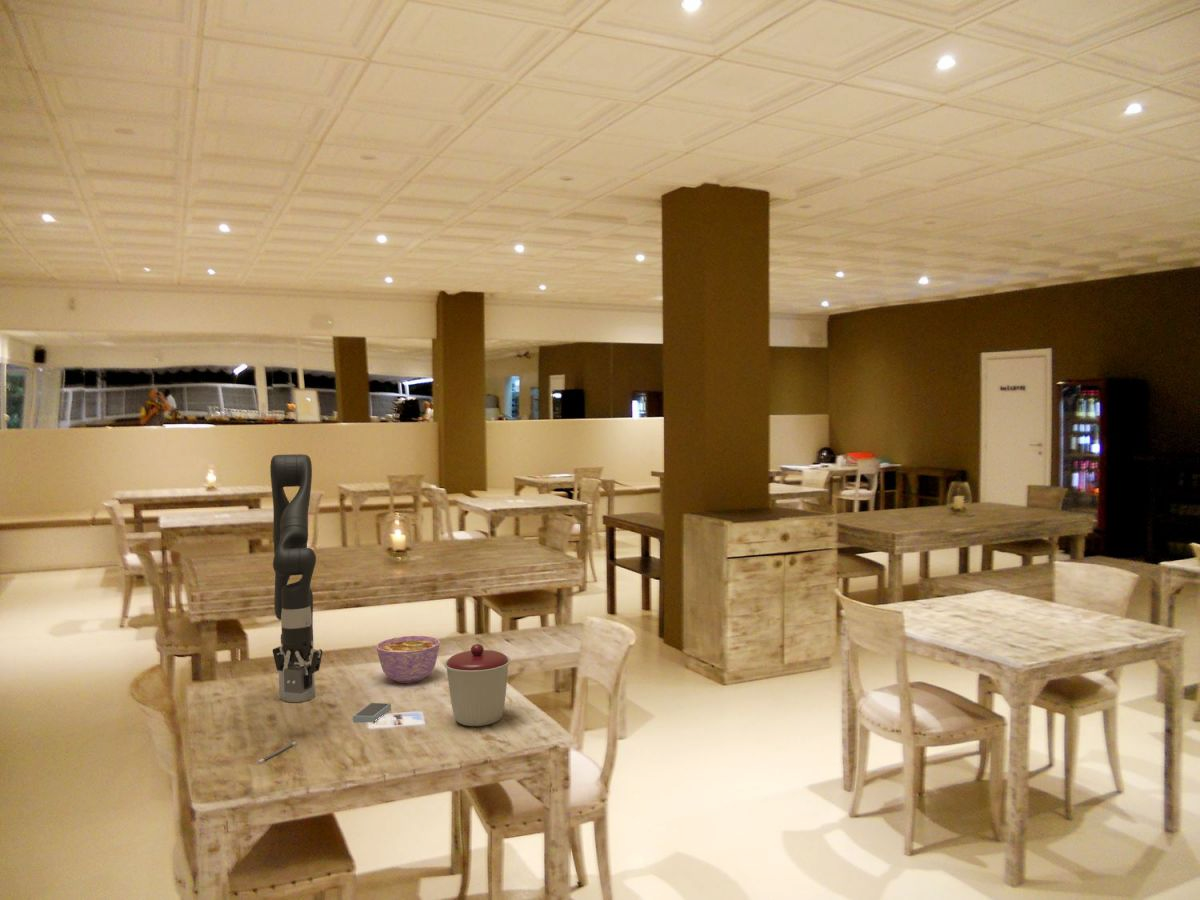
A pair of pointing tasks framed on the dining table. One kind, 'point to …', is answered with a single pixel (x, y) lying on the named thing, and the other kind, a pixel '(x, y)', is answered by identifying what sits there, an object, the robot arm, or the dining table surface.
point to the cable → (277, 752)
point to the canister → (477, 685)
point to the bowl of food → (408, 657)
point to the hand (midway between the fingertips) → (298, 687)
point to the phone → (372, 712)
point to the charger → (294, 679)
